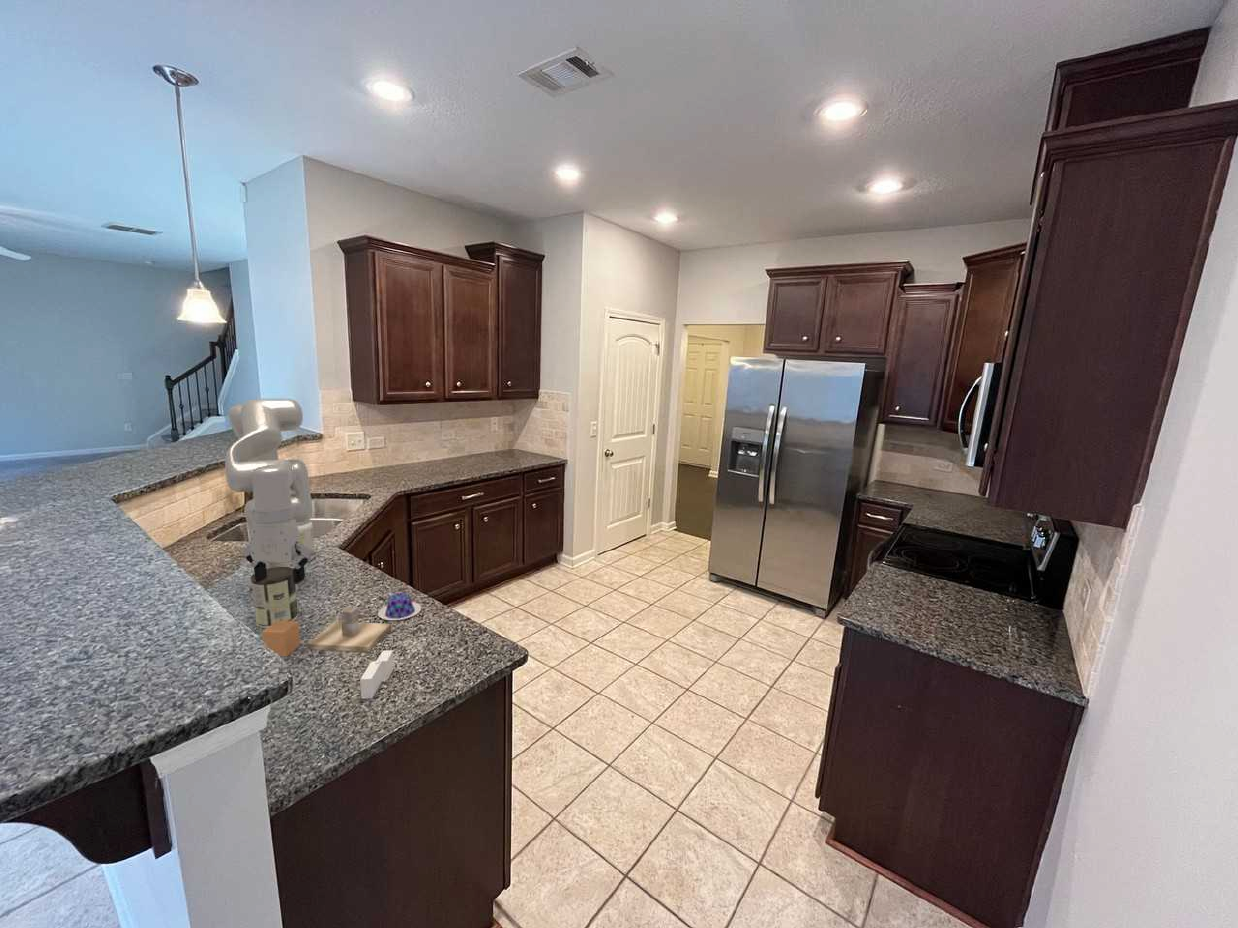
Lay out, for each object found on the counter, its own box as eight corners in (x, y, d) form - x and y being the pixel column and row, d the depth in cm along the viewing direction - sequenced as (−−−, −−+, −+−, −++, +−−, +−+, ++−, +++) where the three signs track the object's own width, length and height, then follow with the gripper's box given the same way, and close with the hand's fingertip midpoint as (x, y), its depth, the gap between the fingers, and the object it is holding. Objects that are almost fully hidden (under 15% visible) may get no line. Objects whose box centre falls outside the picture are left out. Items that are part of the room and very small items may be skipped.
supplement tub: (294, 552, 195) (290, 510, 192) (323, 555, 193) (320, 513, 190) (268, 564, 183) (264, 520, 180) (299, 567, 182) (295, 522, 178)
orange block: (264, 655, 128) (261, 631, 127) (279, 643, 133) (277, 620, 132) (286, 656, 128) (283, 632, 126) (300, 644, 133) (298, 621, 132)
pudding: (376, 625, 145) (375, 608, 144) (379, 606, 156) (378, 590, 155) (421, 618, 150) (421, 602, 149) (420, 601, 160) (420, 585, 159)
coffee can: (281, 608, 152) (276, 564, 149) (306, 615, 149) (303, 569, 146) (246, 624, 142) (241, 577, 140) (273, 631, 139) (268, 583, 136)
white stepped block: (366, 710, 110) (364, 686, 109) (336, 691, 116) (334, 668, 115) (424, 675, 123) (423, 654, 122) (394, 660, 129) (393, 640, 128)
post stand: (308, 649, 131) (305, 618, 130) (335, 625, 143) (332, 597, 142) (369, 652, 131) (367, 621, 129) (390, 628, 143) (389, 600, 141)
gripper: (227, 518, 121) (235, 585, 124) (299, 521, 121) (304, 588, 124) (251, 510, 128) (257, 573, 131) (318, 512, 128) (323, 576, 131)
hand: (280, 580), depth 128 cm, fingers open, 9 cm apart
